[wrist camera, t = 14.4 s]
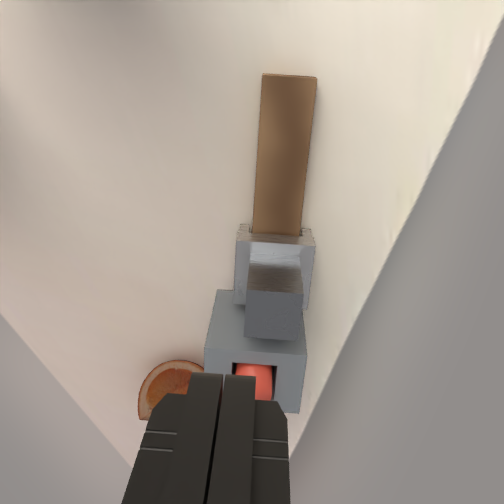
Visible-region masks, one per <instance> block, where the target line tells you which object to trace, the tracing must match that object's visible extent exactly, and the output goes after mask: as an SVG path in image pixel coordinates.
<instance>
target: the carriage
mask: <svg viewBox="0 0 504 504" xmlns="http://www.w3.org/2000/svg"><path fill="white" fill-rule="evenodd" d="M314 254H315V241H314V237H312V232H311V229H302V231H301V236H288V235H274V234H260V233H249V225H246V224H240V229H239V232H238V234H237V239H236V256H235V276H234V296H233V304H242V305H245V320H244V336H243V337H251V338H264V339H278V340H291V341H298V337H299V329H300V321H301V313H302V309H307V306H308V299H309V291H310V284H311V276H312V269H313V261H314Z"/></svg>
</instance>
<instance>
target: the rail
mask: <svg viewBox="0 0 504 504" xmlns="http://www.w3.org/2000/svg"><path fill="white" fill-rule="evenodd" d="M316 85H317V78H316V77H309V76H294V75H280V74H265V73H263V75H262V90H261V105H260V120H259V136H258V151H257V166H256V181H255V196H254V211H253V227H252V233H260V234H274V235H288V236H299V233H300V224H301V215H302V207H303V198H304V189H305V181H306V172H307V163H308V155H309V146H310V137H311V129H312V120H313V111H314V103H315V94H316Z"/></svg>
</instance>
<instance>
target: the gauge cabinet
mask: <svg viewBox="0 0 504 504" xmlns="http://www.w3.org/2000/svg"><path fill="white" fill-rule="evenodd" d="M233 296H234V291H229V290H217V293H216V298H215V302H214V307H213V311H212V316H211V320H210V325H209V329H208V334H207V338H206V343H205V347H204V373H217V374H223V388H224V381H225V375H226V374H232V375H235V373H236V365H237V363H248V364H261V365H272V397H271V400H270V401H277V402H278V403H279V405H280V407H281V409H282V411H283V412H285V413H298V414H299V411H300V404H301V396H302V389H303V382H304V375H305V368H306V361H307V349H306V340H305V330H304V321H303V312H302V313H301V321H300V329H299V337H298V341H291V340H278V339H264V338H251V337H243V336H244V320H245V305H242V304H233Z"/></svg>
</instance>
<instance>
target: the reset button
mask: <svg viewBox="0 0 504 504" xmlns="http://www.w3.org/2000/svg"><path fill="white" fill-rule="evenodd" d="M235 375H245V376H256V390H255V400H267V401H270V400H271V397H272V365H261V364H248V363H237V365H236V373H235Z"/></svg>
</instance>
